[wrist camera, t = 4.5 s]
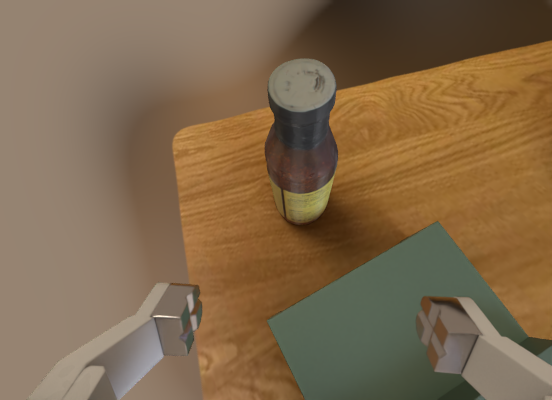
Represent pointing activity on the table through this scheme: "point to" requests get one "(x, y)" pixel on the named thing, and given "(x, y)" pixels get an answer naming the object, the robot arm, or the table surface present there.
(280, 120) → the sauce bottle
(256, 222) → the table surface
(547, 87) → the table surface
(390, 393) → the shelf
